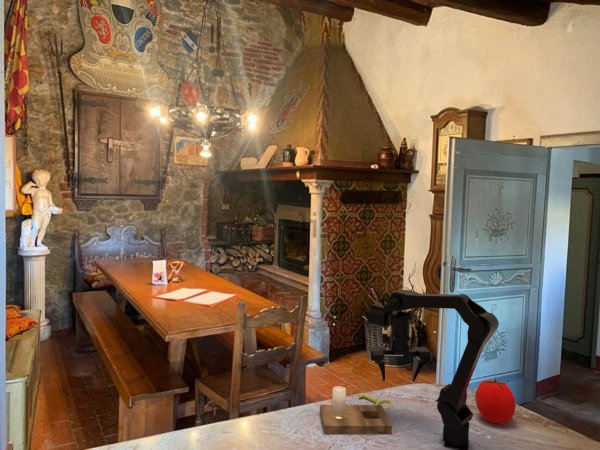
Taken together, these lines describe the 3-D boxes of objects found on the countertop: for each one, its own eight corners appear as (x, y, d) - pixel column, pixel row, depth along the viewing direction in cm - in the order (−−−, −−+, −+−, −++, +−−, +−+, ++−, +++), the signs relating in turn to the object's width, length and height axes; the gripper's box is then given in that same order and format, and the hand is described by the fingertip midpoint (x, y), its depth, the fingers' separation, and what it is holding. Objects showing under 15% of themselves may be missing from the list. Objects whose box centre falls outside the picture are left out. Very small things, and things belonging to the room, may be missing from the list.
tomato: (504, 434, 141) (506, 390, 140) (466, 418, 150) (468, 378, 149) (522, 423, 148) (524, 381, 147) (485, 409, 158) (487, 370, 157)
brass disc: (350, 412, 147) (350, 412, 147) (344, 420, 141) (344, 420, 141) (332, 409, 149) (332, 408, 149) (325, 417, 144) (325, 416, 144)
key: (360, 397, 166) (360, 391, 166) (394, 404, 160) (395, 398, 160) (353, 405, 159) (353, 399, 159) (389, 413, 154) (389, 406, 154)
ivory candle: (346, 412, 146) (347, 387, 146) (343, 418, 143) (343, 392, 142) (334, 410, 148) (335, 385, 147) (330, 415, 144) (331, 389, 144)
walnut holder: (381, 412, 153) (381, 405, 153) (391, 434, 139) (392, 425, 139) (319, 412, 152) (320, 404, 152) (324, 434, 138) (324, 425, 138)
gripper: (422, 324, 154) (420, 371, 155) (365, 324, 153) (363, 371, 154) (433, 334, 143) (431, 385, 143) (372, 333, 142) (370, 385, 142)
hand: (398, 381), depth 146 cm, fingers open, 9 cm apart
